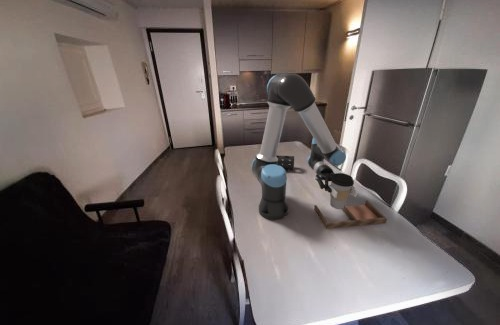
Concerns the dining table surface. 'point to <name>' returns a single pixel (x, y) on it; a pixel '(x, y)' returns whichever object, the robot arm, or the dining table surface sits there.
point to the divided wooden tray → (355, 216)
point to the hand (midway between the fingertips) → (346, 194)
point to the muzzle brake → (285, 161)
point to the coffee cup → (340, 189)
